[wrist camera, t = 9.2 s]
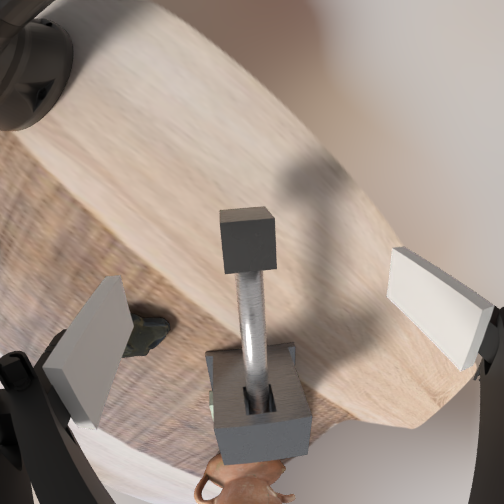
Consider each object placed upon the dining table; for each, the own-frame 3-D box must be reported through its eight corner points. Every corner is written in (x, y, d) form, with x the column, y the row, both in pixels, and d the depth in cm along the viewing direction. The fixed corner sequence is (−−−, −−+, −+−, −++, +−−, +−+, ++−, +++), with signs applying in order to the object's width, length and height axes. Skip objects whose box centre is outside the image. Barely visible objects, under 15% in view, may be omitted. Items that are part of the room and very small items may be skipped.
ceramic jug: (289, 436, 47) (304, 498, 33) (282, 471, 51) (293, 524, 38) (190, 440, 45) (186, 504, 32) (199, 475, 50) (198, 529, 36)
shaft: (219, 210, 26) (219, 222, 22) (264, 206, 27) (274, 218, 22) (243, 418, 35) (247, 447, 30) (273, 414, 35) (280, 442, 31)
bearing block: (205, 352, 39) (203, 429, 26) (293, 342, 40) (321, 414, 27) (213, 392, 41) (215, 465, 28) (292, 383, 42) (315, 452, 29)
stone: (176, 345, 38) (172, 370, 33) (90, 350, 37) (79, 372, 32) (165, 301, 36) (159, 323, 31) (75, 309, 35) (59, 329, 30)
